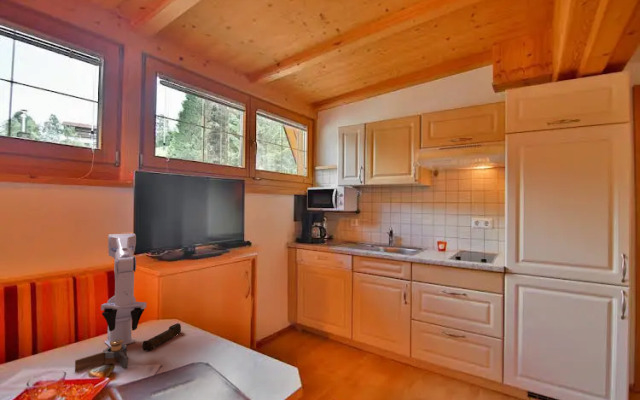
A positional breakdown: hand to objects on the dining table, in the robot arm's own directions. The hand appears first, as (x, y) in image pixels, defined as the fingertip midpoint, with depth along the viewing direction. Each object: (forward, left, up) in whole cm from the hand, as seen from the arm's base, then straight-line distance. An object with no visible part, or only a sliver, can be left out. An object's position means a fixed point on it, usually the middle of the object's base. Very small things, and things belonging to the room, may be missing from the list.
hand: (123, 329), depth 108 cm
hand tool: (-3, +15, -10) cm, 18 cm away
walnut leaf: (0, -6, -9) cm, 11 cm away
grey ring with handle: (+4, -2, -9) cm, 10 cm away
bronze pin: (0, -2, -9) cm, 10 cm away
